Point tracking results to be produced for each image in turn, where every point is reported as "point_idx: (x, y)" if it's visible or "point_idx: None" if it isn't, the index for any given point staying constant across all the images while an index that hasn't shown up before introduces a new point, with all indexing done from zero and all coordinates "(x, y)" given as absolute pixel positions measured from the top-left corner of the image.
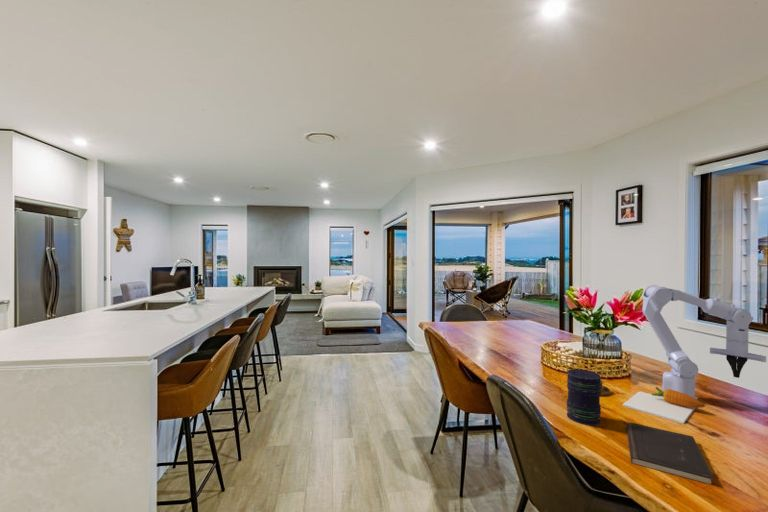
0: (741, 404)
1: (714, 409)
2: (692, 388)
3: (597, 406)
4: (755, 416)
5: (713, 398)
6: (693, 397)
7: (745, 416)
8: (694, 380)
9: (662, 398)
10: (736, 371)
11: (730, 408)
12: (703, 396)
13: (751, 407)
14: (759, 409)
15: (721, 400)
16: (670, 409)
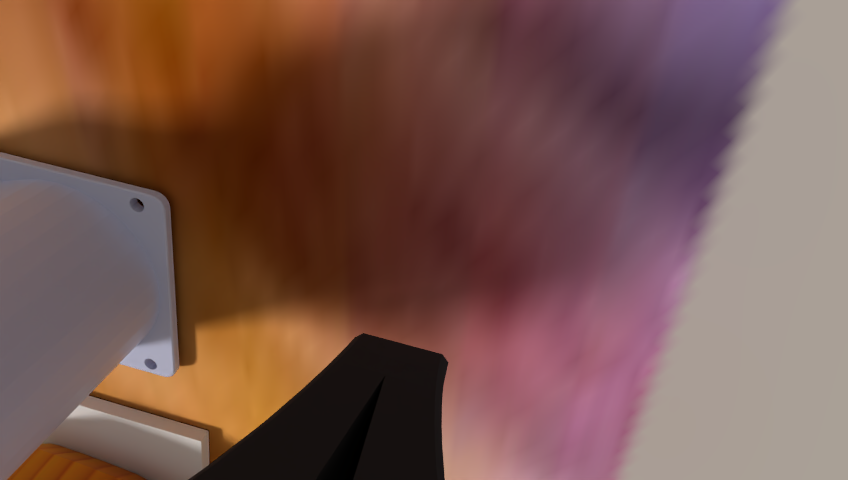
0: (551, 73)
1: None
2: (71, 408)
3: None
4: (601, 397)
5: (284, 48)
6: (141, 330)
7: (519, 437)
8: (5, 457)
9: None
10: (351, 472)
11: (428, 302)
12: (194, 46)
13: (641, 122)
14: (716, 143)
15: (358, 68)
16: None
